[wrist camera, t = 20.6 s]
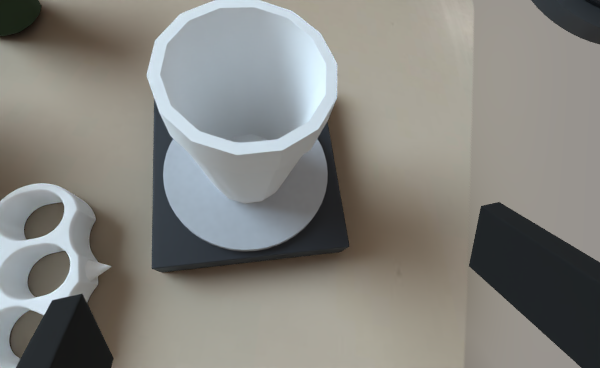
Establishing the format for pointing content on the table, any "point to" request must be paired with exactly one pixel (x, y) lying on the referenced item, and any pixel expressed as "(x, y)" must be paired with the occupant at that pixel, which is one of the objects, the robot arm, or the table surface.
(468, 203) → the table surface
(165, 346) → the table surface
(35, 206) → the white brass knuckles
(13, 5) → the character mug
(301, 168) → the kitchen scale
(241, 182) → the foam cup
